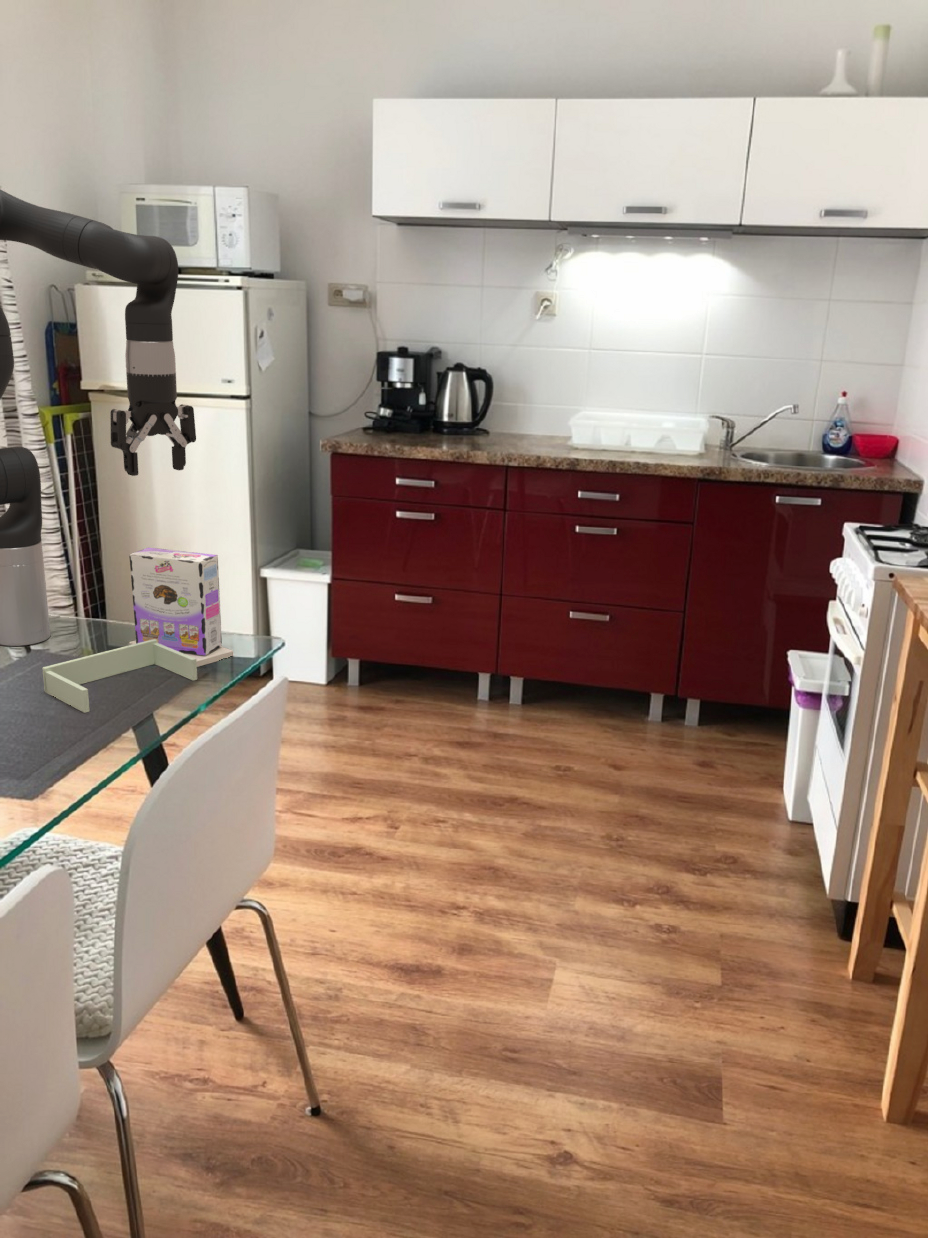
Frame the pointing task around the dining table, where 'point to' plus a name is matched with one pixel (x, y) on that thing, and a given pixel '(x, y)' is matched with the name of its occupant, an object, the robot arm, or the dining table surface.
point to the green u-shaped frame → (111, 669)
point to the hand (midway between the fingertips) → (156, 472)
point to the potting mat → (208, 658)
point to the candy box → (176, 599)
